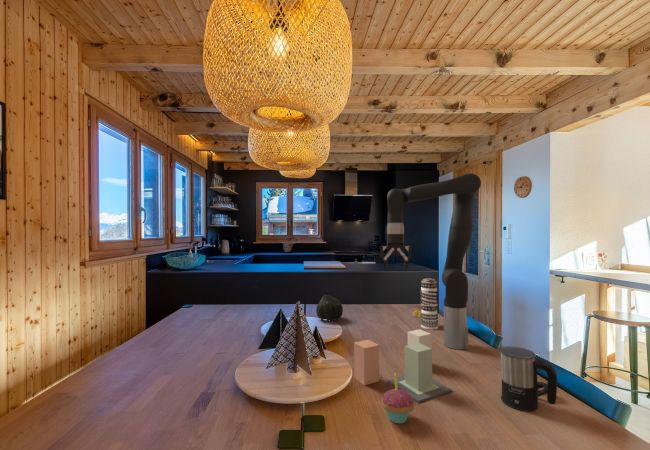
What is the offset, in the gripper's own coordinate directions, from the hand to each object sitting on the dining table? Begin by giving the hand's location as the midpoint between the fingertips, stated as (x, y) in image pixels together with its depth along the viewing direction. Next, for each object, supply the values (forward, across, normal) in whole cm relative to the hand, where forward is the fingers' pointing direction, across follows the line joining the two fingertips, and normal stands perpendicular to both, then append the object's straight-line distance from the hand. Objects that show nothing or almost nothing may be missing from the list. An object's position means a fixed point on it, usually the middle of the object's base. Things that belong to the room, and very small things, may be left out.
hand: (395, 268), depth 141 cm
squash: (+33, -37, +28) cm, 57 cm away
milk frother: (+33, +37, -41) cm, 65 cm away
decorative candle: (+33, +17, +26) cm, 46 cm away
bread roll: (+34, +14, +46) cm, 58 cm away
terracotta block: (+33, -10, -39) cm, 52 cm away
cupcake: (+33, 0, -59) cm, 68 cm away
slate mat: (+33, +7, -40) cm, 53 cm away
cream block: (+33, +8, -23) cm, 41 cm away
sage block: (+32, +7, -40) cm, 52 cm away
